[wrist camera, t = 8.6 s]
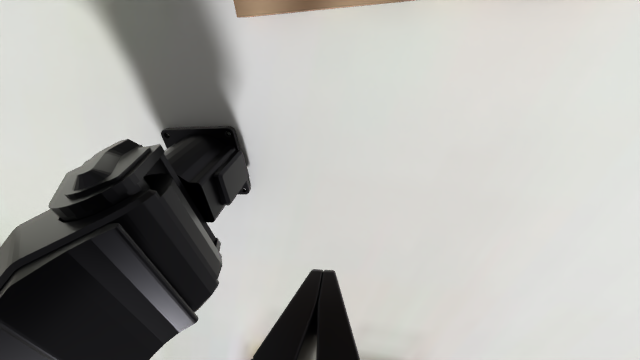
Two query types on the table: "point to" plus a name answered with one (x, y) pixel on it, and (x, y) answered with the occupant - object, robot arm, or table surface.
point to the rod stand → (296, 6)
